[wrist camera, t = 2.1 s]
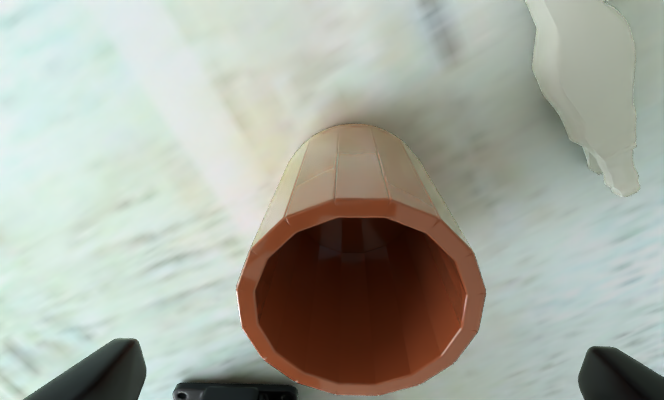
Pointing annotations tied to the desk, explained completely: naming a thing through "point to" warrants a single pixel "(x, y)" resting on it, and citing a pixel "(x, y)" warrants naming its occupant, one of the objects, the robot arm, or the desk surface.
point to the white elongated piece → (590, 82)
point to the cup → (359, 269)
